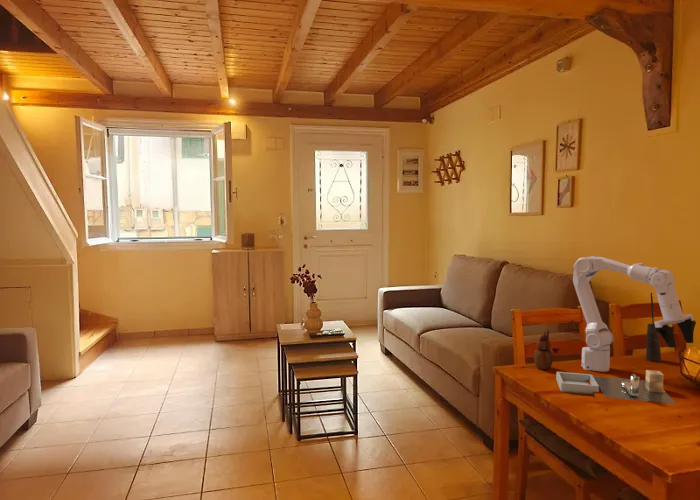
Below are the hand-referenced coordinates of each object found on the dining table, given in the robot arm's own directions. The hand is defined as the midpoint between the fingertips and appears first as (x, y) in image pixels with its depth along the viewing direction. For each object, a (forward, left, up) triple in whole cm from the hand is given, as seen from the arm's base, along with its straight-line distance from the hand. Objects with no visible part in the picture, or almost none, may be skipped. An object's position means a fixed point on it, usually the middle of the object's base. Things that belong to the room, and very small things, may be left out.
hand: (681, 345), depth 158 cm
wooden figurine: (-41, +14, -16) cm, 47 cm away
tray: (-32, -4, -16) cm, 36 cm away
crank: (-16, -7, -15) cm, 23 cm away
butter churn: (+4, +36, -16) cm, 40 cm away
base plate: (-15, -4, -16) cm, 23 cm away
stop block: (-8, -3, -15) cm, 18 cm away
